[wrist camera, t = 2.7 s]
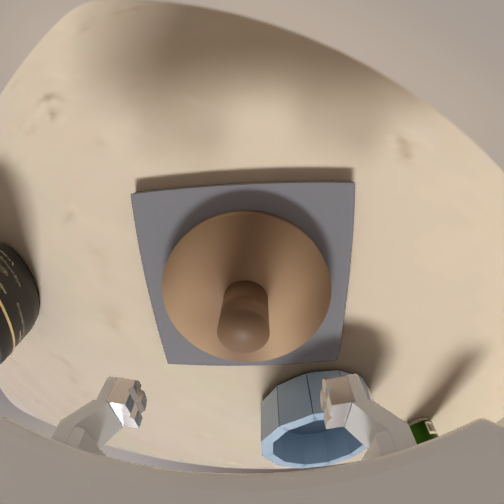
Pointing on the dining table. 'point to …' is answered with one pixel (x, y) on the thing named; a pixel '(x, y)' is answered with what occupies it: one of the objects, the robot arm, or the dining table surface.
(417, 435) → the beer can
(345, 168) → the dining table surface
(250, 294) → the lid
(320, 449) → the bowl
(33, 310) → the jar
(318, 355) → the mat
